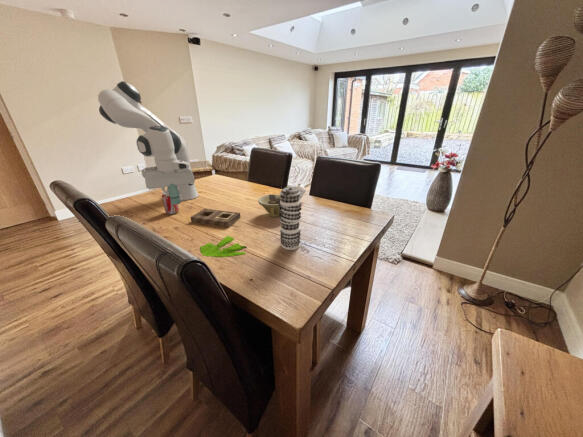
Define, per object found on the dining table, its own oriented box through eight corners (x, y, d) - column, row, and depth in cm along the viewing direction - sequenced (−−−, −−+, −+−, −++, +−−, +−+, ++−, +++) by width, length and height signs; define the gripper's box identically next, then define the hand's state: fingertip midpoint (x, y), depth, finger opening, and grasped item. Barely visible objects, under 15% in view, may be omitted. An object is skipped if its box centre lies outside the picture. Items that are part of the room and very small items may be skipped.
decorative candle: (282, 251, 95) (280, 193, 85) (277, 240, 103) (275, 186, 93) (303, 248, 98) (304, 191, 87) (297, 237, 106) (297, 184, 95)
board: (191, 222, 121) (190, 216, 120) (205, 213, 132) (204, 208, 131) (228, 227, 116) (228, 221, 114) (240, 217, 126) (239, 212, 125)
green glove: (192, 248, 99) (191, 244, 98) (237, 231, 113) (236, 227, 112) (216, 270, 86) (215, 264, 85) (263, 247, 100) (262, 242, 99)
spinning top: (298, 198, 153) (298, 180, 148) (307, 200, 149) (308, 182, 144) (290, 201, 148) (290, 183, 143) (300, 204, 143) (300, 185, 138)
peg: (169, 204, 110) (164, 183, 106) (175, 201, 114) (170, 181, 110) (176, 205, 109) (171, 184, 105) (182, 201, 113) (178, 181, 109)
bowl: (288, 223, 120) (288, 205, 116) (255, 220, 123) (253, 203, 119) (294, 209, 136) (294, 194, 131) (265, 207, 139) (264, 192, 135)
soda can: (163, 213, 132) (157, 193, 127) (173, 209, 138) (169, 189, 133) (171, 216, 129) (166, 195, 124) (182, 211, 135) (177, 191, 130)
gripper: (140, 169, 97) (149, 200, 103) (192, 164, 106) (197, 193, 112) (140, 166, 102) (149, 196, 108) (190, 161, 111) (195, 189, 117)
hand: (174, 194), depth 110 cm, fingers closed on peg, 4 cm apart
